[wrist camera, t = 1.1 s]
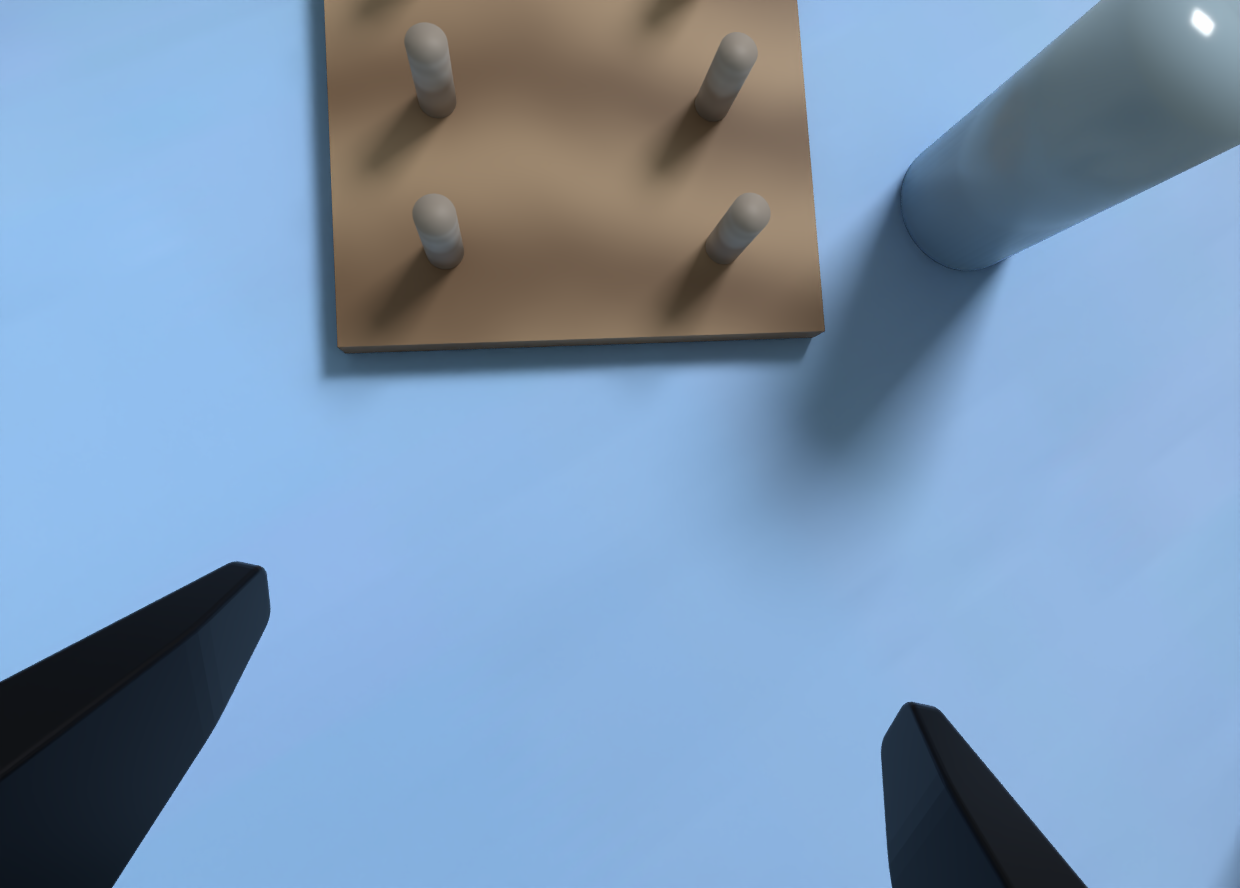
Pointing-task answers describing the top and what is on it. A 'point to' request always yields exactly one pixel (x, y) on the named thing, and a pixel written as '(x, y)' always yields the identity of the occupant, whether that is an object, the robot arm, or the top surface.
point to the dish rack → (569, 173)
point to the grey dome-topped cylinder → (1080, 129)
